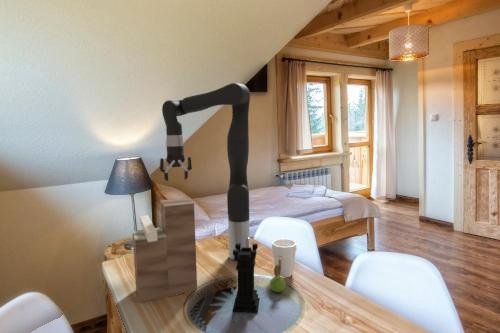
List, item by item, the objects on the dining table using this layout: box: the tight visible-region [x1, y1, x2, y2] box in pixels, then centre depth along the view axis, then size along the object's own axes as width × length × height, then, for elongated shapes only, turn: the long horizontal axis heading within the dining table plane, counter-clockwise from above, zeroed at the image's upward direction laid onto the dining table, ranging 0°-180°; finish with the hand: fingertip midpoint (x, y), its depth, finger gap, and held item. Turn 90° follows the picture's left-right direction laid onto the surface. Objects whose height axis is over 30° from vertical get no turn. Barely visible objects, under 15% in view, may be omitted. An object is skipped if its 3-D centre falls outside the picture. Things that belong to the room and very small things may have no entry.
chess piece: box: [232, 243, 261, 314], centre depth 113 cm, size 8×8×20 cm
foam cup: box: [271, 238, 297, 277], centre depth 136 cm, size 10×9×13 cm
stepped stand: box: [132, 197, 198, 304], centre depth 123 cm, size 10×20×32 cm, turn 113°
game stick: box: [139, 214, 157, 242], centre depth 122 cm, size 22×3×3 cm, turn 23°
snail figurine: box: [269, 255, 286, 293], centre depth 123 cm, size 5×6×12 cm
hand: (176, 179), depth 161 cm, fingers open, 8 cm apart
